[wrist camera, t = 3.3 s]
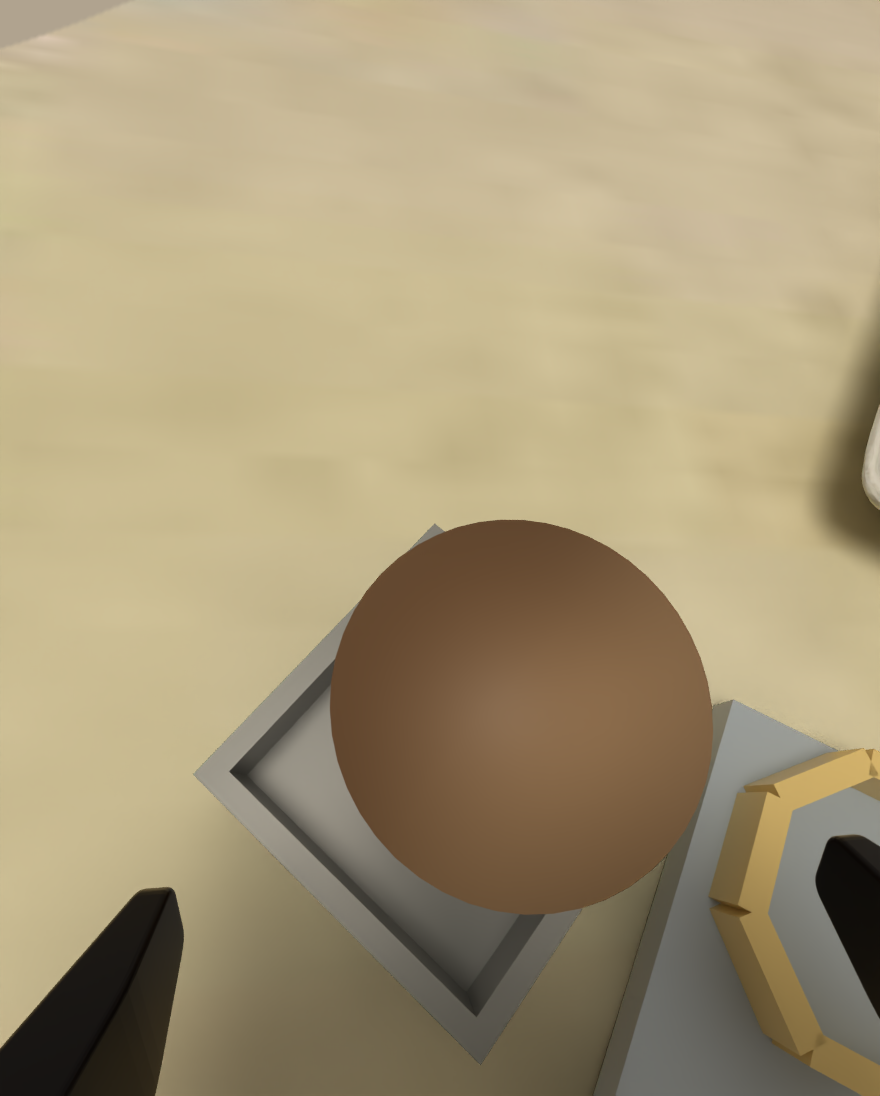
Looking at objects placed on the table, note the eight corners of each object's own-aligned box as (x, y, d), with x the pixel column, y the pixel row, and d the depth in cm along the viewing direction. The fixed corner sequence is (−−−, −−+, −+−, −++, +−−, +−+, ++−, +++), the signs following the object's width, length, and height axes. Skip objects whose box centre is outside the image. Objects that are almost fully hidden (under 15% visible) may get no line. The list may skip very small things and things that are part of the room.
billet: (560, 750, 18) (780, 675, 8) (457, 889, 16) (566, 1022, 6) (438, 645, 19) (493, 458, 9) (330, 768, 17) (246, 713, 7)
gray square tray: (658, 743, 19) (695, 734, 16) (467, 1027, 16) (480, 1065, 13) (429, 555, 21) (434, 523, 18) (218, 778, 18) (192, 774, 15)
